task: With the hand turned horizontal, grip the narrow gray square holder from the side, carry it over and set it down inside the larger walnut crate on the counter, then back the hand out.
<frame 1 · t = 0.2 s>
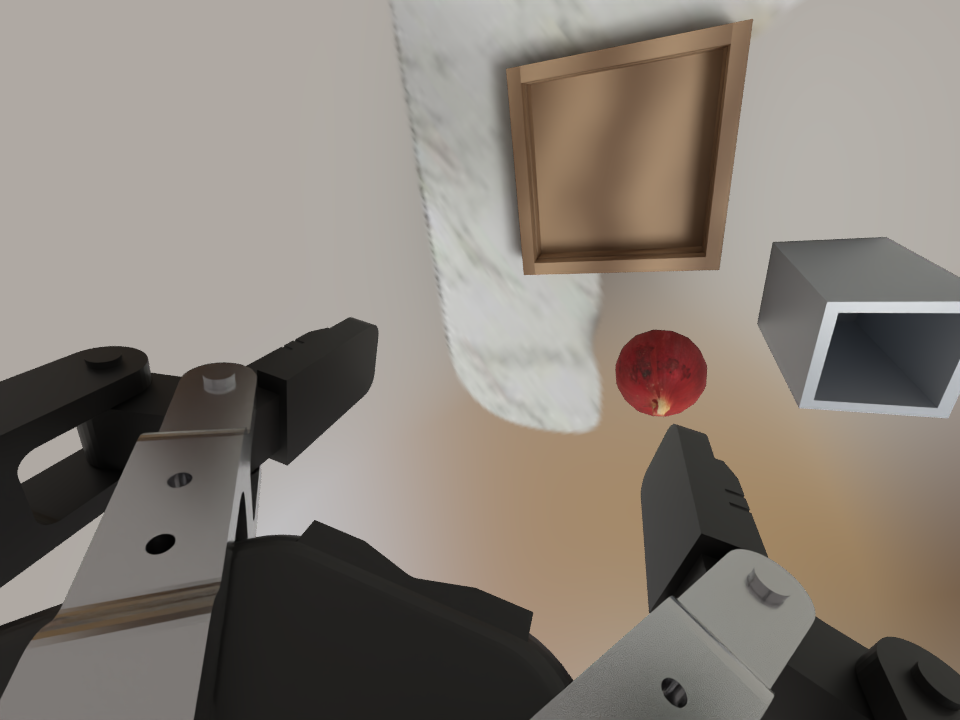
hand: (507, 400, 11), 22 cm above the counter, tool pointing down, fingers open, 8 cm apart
onion: (658, 346, 32), on the counter
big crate: (618, 166, 27), on the counter
gray square holder: (816, 284, 27), on the counter
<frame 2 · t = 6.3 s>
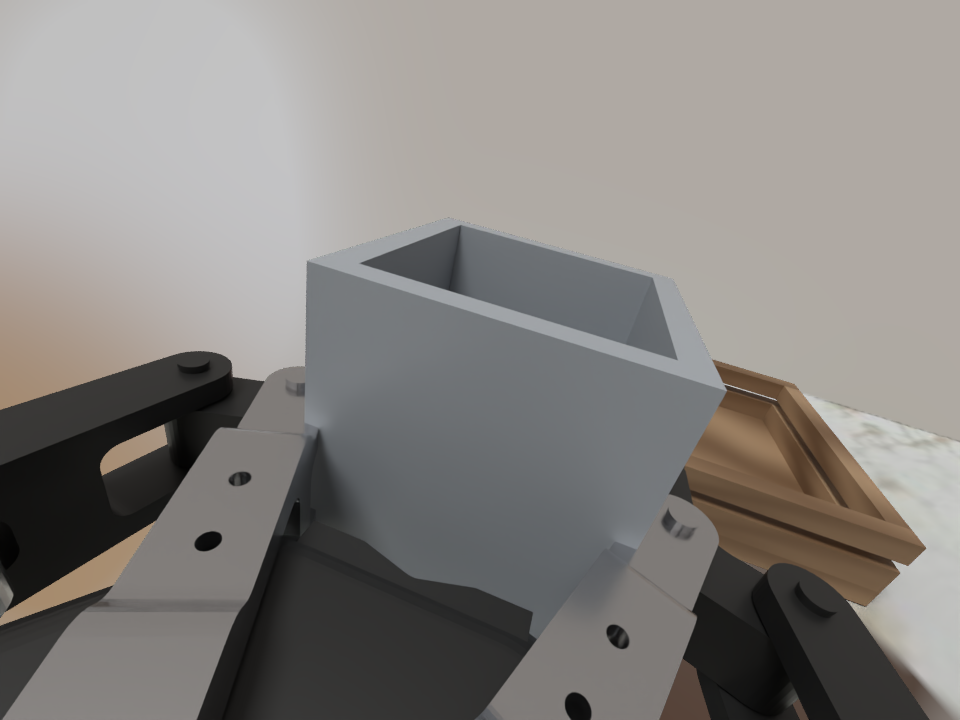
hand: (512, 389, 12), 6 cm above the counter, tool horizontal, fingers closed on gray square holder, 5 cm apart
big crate: (677, 452, 22), on the counter
gray square holder: (446, 599, 12), on the counter, touching gripper
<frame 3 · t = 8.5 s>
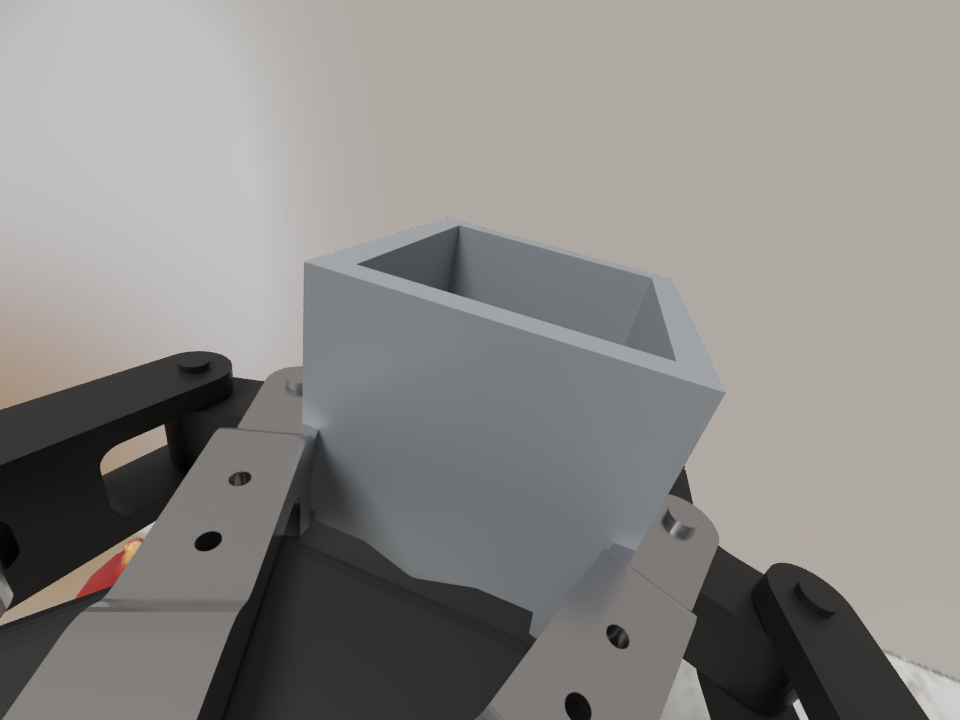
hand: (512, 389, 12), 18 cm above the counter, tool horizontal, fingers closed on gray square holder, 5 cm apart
onion: (170, 664, 20), on the counter
gray square holder: (445, 600, 12), point 12 cm above the counter, touching gripper
when the fingers open (8 cm above the counter, at t = 11.1 s): gray square holder drops 1 cm, resting on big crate.
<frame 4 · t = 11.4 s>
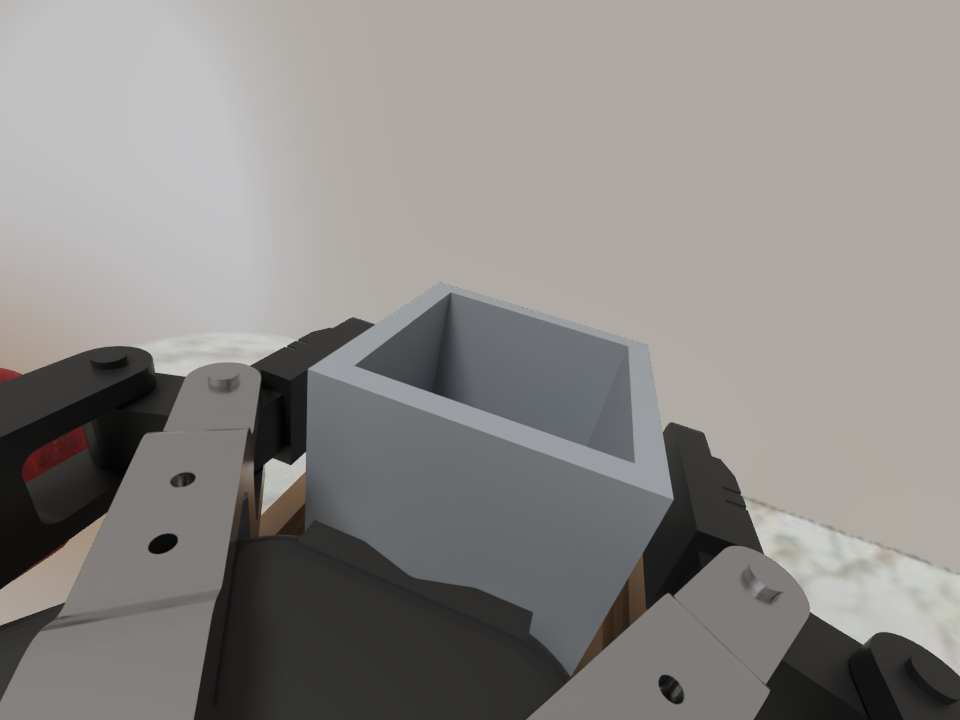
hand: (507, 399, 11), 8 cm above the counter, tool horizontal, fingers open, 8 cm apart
onion: (3, 573, 13), on the counter
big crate: (432, 646, 14), on the counter
gray square holder: (438, 634, 13), point 1 cm above the counter, touching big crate
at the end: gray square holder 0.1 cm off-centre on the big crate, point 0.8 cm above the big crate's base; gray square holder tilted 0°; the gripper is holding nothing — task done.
